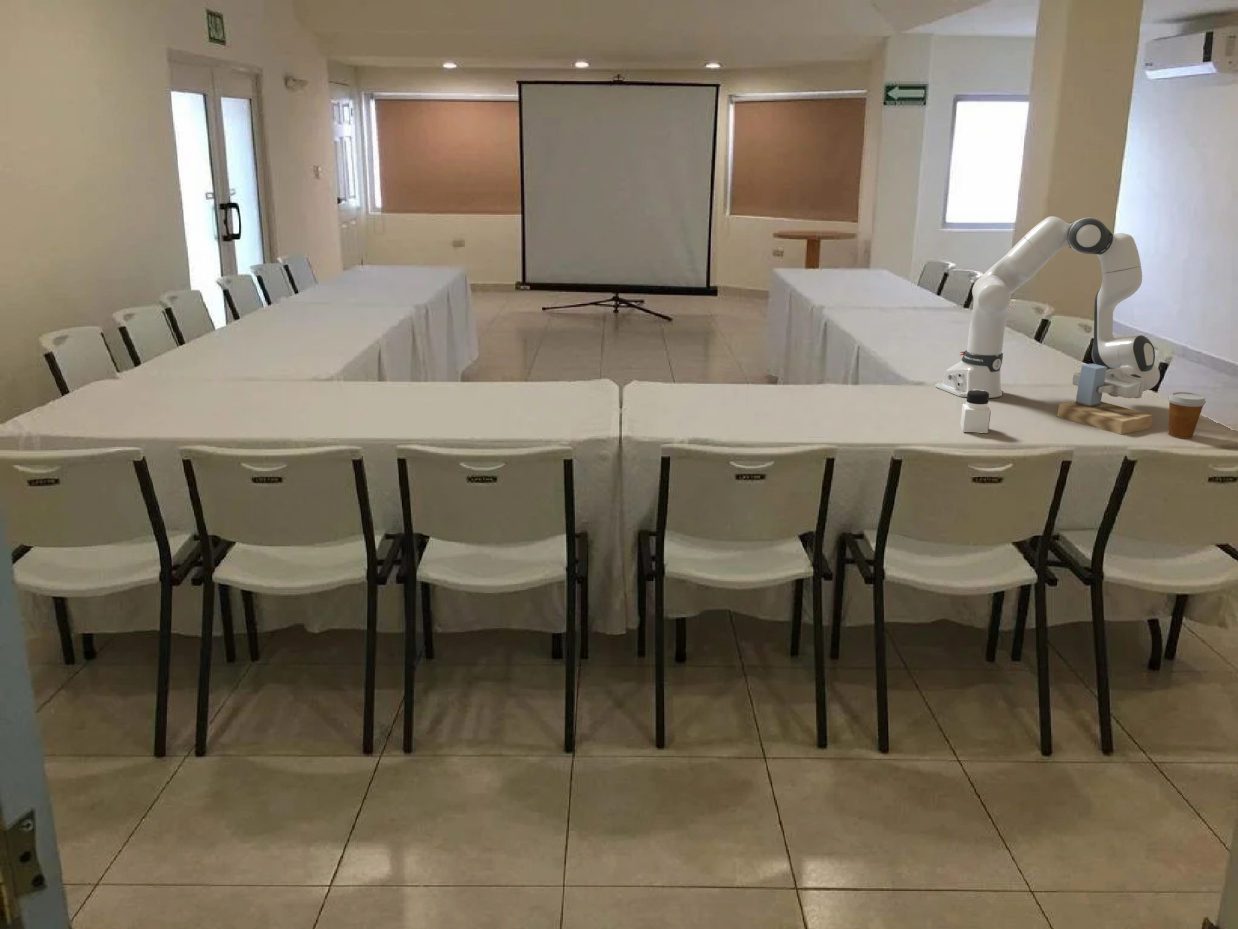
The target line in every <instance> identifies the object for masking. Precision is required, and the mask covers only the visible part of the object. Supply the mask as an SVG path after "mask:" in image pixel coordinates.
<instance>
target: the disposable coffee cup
mask: <svg viewBox="0 0 1238 929" xmlns="http://www.w3.org/2000/svg"><path fill="white" fill-rule="evenodd" d="M1205 398H1206V397H1205V396H1204V395H1202V394H1199V393H1194V392H1190V391H1189V392H1188V391H1186V392H1185V391H1175V392H1171V393H1170V395H1169V397H1168V402H1169V404H1168V405H1169V407H1168V430H1167V432H1168V433H1167V434H1168V436H1171V437H1174V438H1178V439H1192V438H1193V437H1194V434H1195V431H1196V427H1197V425H1198V422H1199V419H1200V416H1201V412H1202V410H1203V408H1204V406H1205V404H1206V399H1205Z"/></svg>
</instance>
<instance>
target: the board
mask: <svg viewBox="0 0 1238 929" xmlns="http://www.w3.org/2000/svg"><path fill="white" fill-rule="evenodd" d="M1056 416H1058V417H1059V418H1061V417H1063V418H1062V419H1064V418H1066V419H1065V420H1068V419H1069V420H1068V421H1071V422H1074V423H1079V424H1083V425H1086V426H1089V427H1093V428H1096V429H1100V430H1104V431H1107V432H1110V433H1114V434H1118V435H1124V434H1129V433H1134V432H1139V431H1142V430H1147V429H1148V430H1149V429H1151V428H1152V424H1153V423H1152V422H1153V418H1154V414H1150V413H1147V412H1145V411H1144V412H1143V411H1139V410H1136V409H1132V408H1128V407H1123V406H1120V405H1116V404H1112V403H1109V402H1106V401H1105V402H1104V401H1101V403H1100V405H1098V406H1092V407H1087V406H1084V405H1081V404H1077V403H1076V401H1068V402H1063V403H1059V404H1058V410H1057V415H1056Z"/></svg>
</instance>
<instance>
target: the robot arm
mask: <svg viewBox="0 0 1238 929" xmlns="http://www.w3.org/2000/svg"><path fill="white" fill-rule="evenodd" d="M1064 248H1069V249H1072V250H1073V251H1075V252H1076V253H1078V254H1084V255H1085V254H1086V255H1087V254H1088V255H1096V256H1097V258H1098V259H1099V262H1100V263H1099V264H1100V267H1101V270H1100V271H1101V275H1102V276H1101V277H1102V278H1101V286H1100V289H1099V290H1098V291H1097V292H1096V294H1095V297H1094V304H1093V306H1094V307H1093V308H1094V310H1093V312H1094V313H1093V315H1094V318H1093V344H1092V349H1091V359H1092V361H1093V364H1097V365H1101V366H1105V367H1107V370H1106V376H1105V381H1104V386H1097V387H1096V392H1099V393H1102V394H1108V396H1110V397H1114V398H1115V397H1116V398H1117V397H1120V398H1126V399H1133V398H1134V399H1141V398H1142V396H1143V392H1145V391H1148V390H1151V389H1153V388H1154V387H1155V386H1156V385H1157V384H1158V383H1159V381H1160V377H1161V373H1160V369H1159V368H1158V367H1157V365H1156V364H1155V361H1156V360H1155V359H1156V350H1155V346H1154V345H1153V343H1152V341H1151V340H1150V339H1149V338H1147V337H1146V336H1145V335H1133V336H1132V335H1131V336H1124V337H1123V336H1122V337H1115V336H1114V335H1113V327H1114V326H1113V325H1114V324H1113V320H1114V317H1113V316H1114V311H1115V309H1116V307H1117V306H1118V305H1119V304H1120V303H1121V302H1123V301H1126V299H1128V298H1130V297H1131V296H1133V295H1134V294H1135V293H1136V292H1137V291H1138V290H1139V289H1140V287H1141V285H1142V283H1143V270H1142V263H1141V258H1140V254H1139V251H1138V247H1137V244H1136V241H1135V238H1134V237H1133V236H1132V235H1130V234H1128V233H1125V232H1123V233H1121V232H1120V233H1112V232H1111V230H1110V229H1108V227H1107V226H1106V225H1105V224H1104V222H1102V221H1101V220H1100V219H1098V218H1095V217H1093V216H1090V217H1088V216H1086V217H1083V218H1079V219H1077V220H1075V221H1074V220H1073V221H1072V222H1066V221H1065V220H1064V219H1062V218H1060V217H1058V216H1054V215H1053V216H1052V215H1051V216H1050V215H1049V216H1047V217H1046V218H1044V219H1042V220H1041V221H1040V222H1038V223H1037V224H1036V225H1035V226H1034V227H1032V228H1031V229H1030V230H1029V231H1028V232H1027V233H1025V235H1024V236H1023V237H1022V238H1021V239H1019V240H1018V242H1017V243H1016V244H1015V245H1014V246H1012V248H1011V249H1010V250H1009V251H1008V252H1007V253H1006V254H1005V255H1004V256H1002V258H1000V259H999V260H998V261H997V262H996V263H994V264H993V265H992V266H991V267H990V268H989V269H988V270H987V271H985V272H984V273H983V274H982V275H981V276H980V277H979V278H978V279H977V280H976V281H975V282H974V284H973V286H972V290H971V294H972V298H973V306H972V312H971V317H970V323H969V329H968V336H967V347H966V350H965V351H960V354H959V356H962V358H961V360H960V361H958V362H957V363H955V364H953V365H951V366H950V367H948V368H947V369H946V370H945V372H944V375H943V380H942V381H939V382H937V383H935V385H934V387H935V388H937V389H940V390H942V391H945V392H948V393H949V394H953V395H955V396H958V397H962V398H967V393H968V391H970V390H984V391H986V392H988V393H989V399H991V398H992V399H993V398H998V397H1002V395H1003V393H1002V385H1001V367H1002V364H1003V358H1004V353H1003V347H1004V346H1003V345H1004V336H1005V330H1006V325H1007V320H1008V314H1009V311H1010V303H1011V295H1012V294H1013V293H1014V292H1015V291H1016V290H1018V289H1019V288H1020V287H1021V286H1023V285H1024V284H1025V283H1027V282H1028V281H1029V280H1031V279H1032V278H1033V277H1035V275H1036V274H1037V273H1038V272H1039V271H1040V270H1041V269H1042V268H1043V267H1044V266H1045V265H1046V264H1048V262H1049V261H1050V260H1051V259H1052V258H1053V257H1054V256H1055V255H1057V253H1058V252H1060V251H1061V250H1062V249H1064ZM1080 373H1081V372H1075V373H1074V374H1073V376H1072V380H1071V382H1072V385H1073V386H1077V387H1078V385H1079V379H1080Z"/></svg>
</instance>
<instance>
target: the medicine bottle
mask: <svg viewBox="0 0 1238 929" xmlns="http://www.w3.org/2000/svg"><path fill="white" fill-rule="evenodd" d="M989 399H990V398H989V393H988V392H986V391H984V390H970V391H968V393H967V397H966V403H962V406H961V407H962V408H961V416H960V424H959V425H960V429H961V431H962V430H963V431H962V433H963V432H979V433H980V432H982V433H988V434H989V428H990V422H991V421H990V420H991V409H990V408H989V407H990V406H989ZM979 433H978V434H979Z"/></svg>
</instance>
